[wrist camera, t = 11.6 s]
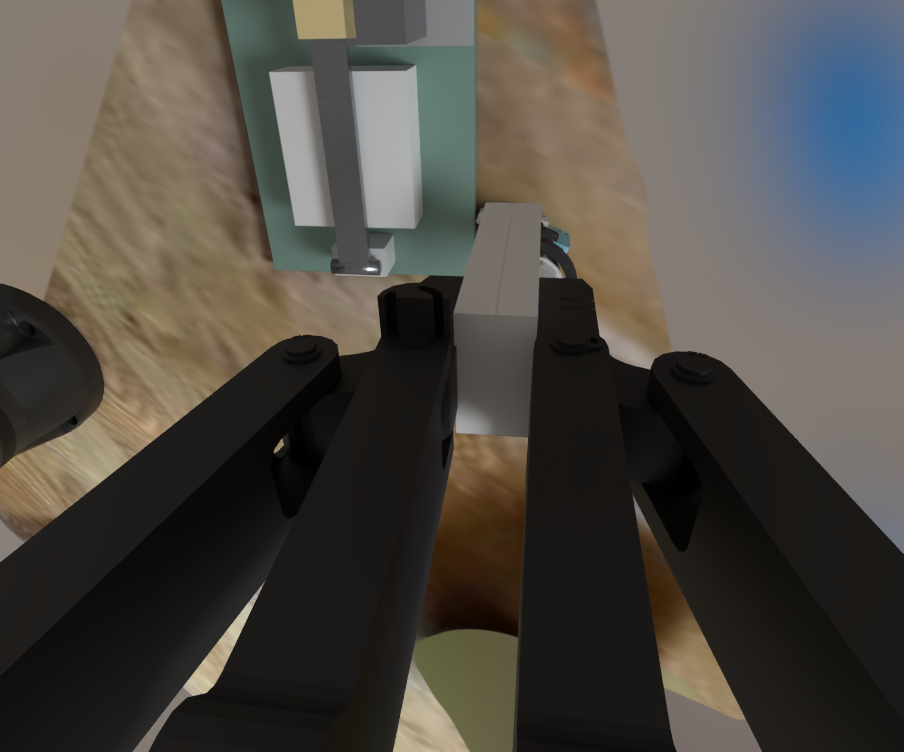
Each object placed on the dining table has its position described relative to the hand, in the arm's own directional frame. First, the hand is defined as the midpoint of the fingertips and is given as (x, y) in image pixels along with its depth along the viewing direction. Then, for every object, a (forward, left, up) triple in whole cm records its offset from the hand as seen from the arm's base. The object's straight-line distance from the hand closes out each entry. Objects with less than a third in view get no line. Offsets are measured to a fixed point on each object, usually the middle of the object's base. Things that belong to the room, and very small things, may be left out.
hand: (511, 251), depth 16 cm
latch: (-9, +5, -23) cm, 25 cm away
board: (-11, -2, -24) cm, 27 cm away
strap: (-11, -2, -20) cm, 23 cm away
